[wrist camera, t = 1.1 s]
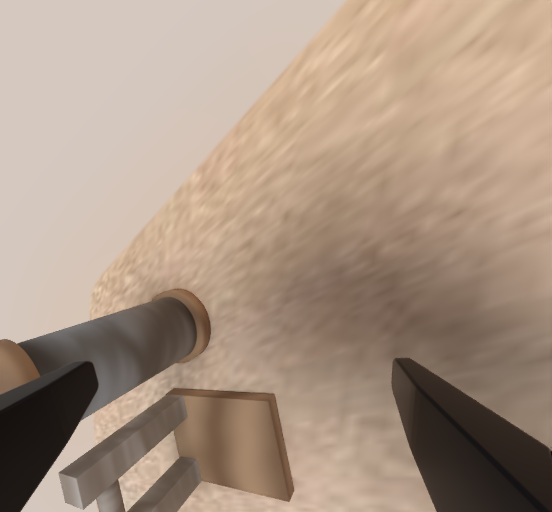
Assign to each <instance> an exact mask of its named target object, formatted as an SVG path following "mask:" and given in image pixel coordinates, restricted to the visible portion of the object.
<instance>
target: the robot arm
mask: <svg viewBox="0 0 552 512" xmlns="http://www.w3.org/2000/svg"><path fill="white" fill-rule="evenodd" d="M98 387H99V382H98V378H97V375H96V371H95V367H94V364H93V363H92V362H91V361H75V362H73V363H71V364H68V365H66V366H64V367H62V368H59V369H57V370H55V371H52V372H50V373H48V374H46V375H43V376H41V377H39V378H37V379H34V380H32V381H30V382H28V383H25V384H23V385H21V386H18V387H16V388H14V389H12V390H9V391H7V392H5V393H3V394H0V512H21V510H22V509H23V507H24V506H25V504H26V502H27V501H28V500H29V498H30V497H31V495H32V494H33V493H34V491H35V490H36V488H37V487H38V485H39V484H40V482H41V481H42V479H43V478H44V477H45V475H46V474H47V472H48V471H49V469H50V468H51V466H52V465H53V463H54V462H55V460H56V459H57V457H58V456H59V455H60V453H61V452H62V450H63V448H64V447H65V446H66V444H67V443H68V441H69V439H70V438H71V436H72V434H73V433H74V431H75V429H76V427H77V426H78V424H79V422H80V420H81V419H82V417H83V415H84V413H85V412H86V410H87V408H88V407H89V405H90V403H91V401H92V400H93V398H94V396H95V394H96V393H97V390H98ZM392 390H393V394H394V397H395V400H396V404H397V407H398V410H399V413H400V417H401V420H402V423H403V427H404V430H405V433H406V436H407V440H408V443H409V446H410V449H411V451H412V454H413V456H414V459H415V461H416V464H417V466H418V468H419V471H420V473H421V475H422V478H423V480H424V483H425V485H426V487H427V490H428V492H429V495H430V497H431V499H432V502H433V504H434V506H435V509H436V511H437V512H552V451H550V449H549V447H547V446H546V445H544V444H542V443H541V442H539V441H538V440H536V439H535V438H533V437H532V436H530V435H528V434H527V433H525V432H524V431H522V430H521V429H519V428H518V427H516V426H514V425H513V424H511V423H510V422H508V421H507V420H505V419H504V418H502V417H500V416H499V415H497V414H496V413H494V412H493V411H491V410H490V409H488V408H487V407H485V406H483V405H482V404H480V403H479V402H477V401H476V400H474V399H473V398H471V397H469V396H468V395H466V394H465V393H463V392H462V391H460V390H459V389H457V388H455V387H454V386H452V385H451V384H449V383H448V382H446V381H445V380H443V379H442V378H440V377H438V376H437V375H435V374H434V373H432V372H431V371H429V370H428V369H426V368H424V367H423V366H421V365H420V364H418V363H417V362H415V361H414V360H412V359H410V358H395V359H394V360H393V368H392Z"/></svg>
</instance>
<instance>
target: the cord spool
mask: <svg viewBox="0 0 552 512" xmlns="http://www.w3.org/2000/svg"><path fill="white" fill-rule="evenodd" d="M209 339H210V321H209V317H208V314H207V312H206V309H205V308H204V306H203V304H202V303H201V302H200V300H199V299H198V298H197V297H196V296H195V295H193V294H192V293H190V292H189V291H186V290H183V289H173V290H170V291H166V292H163V293H160V294H158V295H157V296H155V297H154V298H153V299H152V301H151V302H148V303H145V304H142V305H139V306H135V307H132V308H129V309H126V310H123V311H119V312H116V313H113V314H110V315H107V316H104V317H100V318H97V319H94V320H91V321H88V322H85V323H81V324H78V325H75V326H72V327H69V328H66V329H63V330H59V331H56V332H53V333H50V334H46V335H44V336H40V337H37V338H34V339H30V340H27V341H24V342H21V343H18V344H16V343H15V342H13V341H11V340H7V339H3V340H0V394H3V393H5V392H7V391H9V390H12V389H14V388H16V387H18V386H21V385H23V384H25V383H28V382H30V381H32V380H34V379H37V378H39V377H41V376H43V375H46V374H48V373H50V372H52V371H55V370H57V369H59V368H62V367H64V366H66V365H68V364H71V363H73V362H75V361H91V362H92V363H93V364H94V367H95V371H96V375H97V378H98V382H99V387H98V390H97V393H96V394H95V396H94V398H93V400H92V401H91V403H90V405H89V407H88V408H87V410H86V412H85V413H84V415H83V417H82V419H81V420H83V419H84V418H86V417H88V416H89V415H91V414H93V413H94V412H96V411H97V410H99V409H101V408H102V407H104V406H106V405H107V404H109V403H111V402H112V401H114V400H115V399H117V398H119V397H120V396H122V395H124V394H125V393H127V392H129V391H130V390H132V389H133V388H135V387H137V386H138V385H140V384H142V383H143V382H145V381H147V380H148V379H150V378H152V377H153V376H155V375H156V374H158V373H160V372H161V371H163V370H165V369H166V368H168V367H170V366H171V365H173V364H174V363H185V362H188V361H189V360H191V359H193V358H194V357H196V356H197V355H199V354H201V353H202V352H203V351H204V350H205V348H206V347H207V345H208V342H209ZM81 420H80V421H81Z"/></svg>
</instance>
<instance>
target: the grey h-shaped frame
mask: <svg viewBox="0 0 552 512" xmlns="http://www.w3.org/2000/svg"><path fill="white" fill-rule="evenodd" d="M173 430H174V434H175V438H176V443H177V448H178V452H179V457H180V458H179V459H178V460H177V461H176V462H175V463H174V464H173V465H172V466H171V467H170V468H169V469H168V470H167V471H166V472H165V473H164V474H163V475H162V476H161V477H160V478H159V479H158V480H157V481H156V483H155V484H154V485H153V486H152V487H151V488H150V489H149V490H148V491H147V492H146V493H145V494H144V495H143V496H142V497H141V498H140V499H139V500H138V501H137V502H136V503H135V504H134V505H133V506H132V507H131V508H130V509H129V510H128V512H177V511H178V510H179V509H180V507H181V506H182V505H183V503H184V502H185V501H186V500H187V498H188V497H189V496H190V495H191V493H192V492H193V491H194V490H195V488H196V487H197V486H198V485H199V483H200V482H201V481H205V482H209V483H213V484H218V485H222V486H226V487H230V488H234V489H238V490H242V491H246V492H251V493H255V494H259V495H263V496H267V497H271V498H275V499H279V500H283V501H288V502H289V501H290V499H291V497H292V494H293V492H294V488H293V483H292V478H291V474H290V469H289V464H288V459H287V454H286V450H285V445H284V440H283V435H282V430H281V426H280V421H279V416H278V411H277V406H276V402H275V397H274V394H262V393H244V392H226V391H208V390H191V389H173V390H171V391H170V392H168V393H167V394H166V396H164V397H163V398H162V399H160V400H159V401H158V402H156V403H155V404H153V405H152V406H151V407H149V408H148V409H146V410H145V411H144V412H142V413H141V414H139V415H138V416H137V417H135V418H134V419H133V420H131V421H130V422H128V423H127V424H126V425H124V426H123V427H121V428H120V429H119V430H117V431H116V432H114V433H113V434H112V435H110V436H109V437H108V438H106V439H105V440H103V441H102V442H101V443H99V444H98V445H96V446H95V447H94V448H92V449H91V450H89V451H88V452H87V453H85V454H84V455H83V456H81V457H80V458H78V459H77V460H76V461H74V462H73V463H71V464H70V465H69V466H67V467H66V468H65V469H63V470H62V471H60V472H59V477H60V481H61V485H62V490H63V494H64V499H65V503H68V504H71V505H73V506H75V507H78V508H80V509H83V510H84V509H85V508H86V507H87V506H88V505H89V504H90V503H92V502H93V501H94V500H95V499H96V500H97V504H98V509H99V512H125V508H124V503H123V499H122V495H121V490H120V486H119V481H118V479H119V478H120V477H121V476H122V475H123V474H124V473H125V472H126V471H128V470H129V469H130V468H131V467H132V466H133V465H134V464H135V463H137V462H138V461H139V460H140V459H141V458H142V457H143V456H144V455H146V454H147V453H148V452H149V451H150V450H151V449H152V448H153V447H155V446H156V445H157V444H158V443H159V442H160V441H161V440H162V439H164V438H165V437H166V436H167V435H168V434H169V433H170V432H171V431H173Z"/></svg>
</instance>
